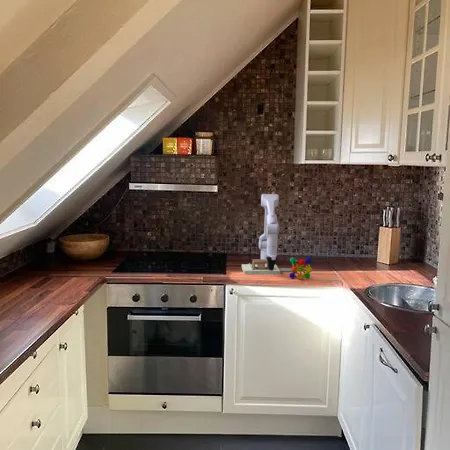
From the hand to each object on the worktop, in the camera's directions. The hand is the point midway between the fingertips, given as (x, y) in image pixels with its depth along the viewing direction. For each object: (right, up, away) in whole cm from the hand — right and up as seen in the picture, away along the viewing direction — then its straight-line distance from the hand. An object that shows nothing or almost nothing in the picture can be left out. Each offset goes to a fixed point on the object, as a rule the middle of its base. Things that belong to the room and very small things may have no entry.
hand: (271, 270), depth 262 cm
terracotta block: (-5, -2, +9) cm, 10 cm away
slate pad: (+10, -1, +13) cm, 16 cm away
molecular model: (+15, -4, -6) cm, 17 cm away
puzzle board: (-5, -1, +11) cm, 12 cm away
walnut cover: (-5, 0, +9) cm, 10 cm away
